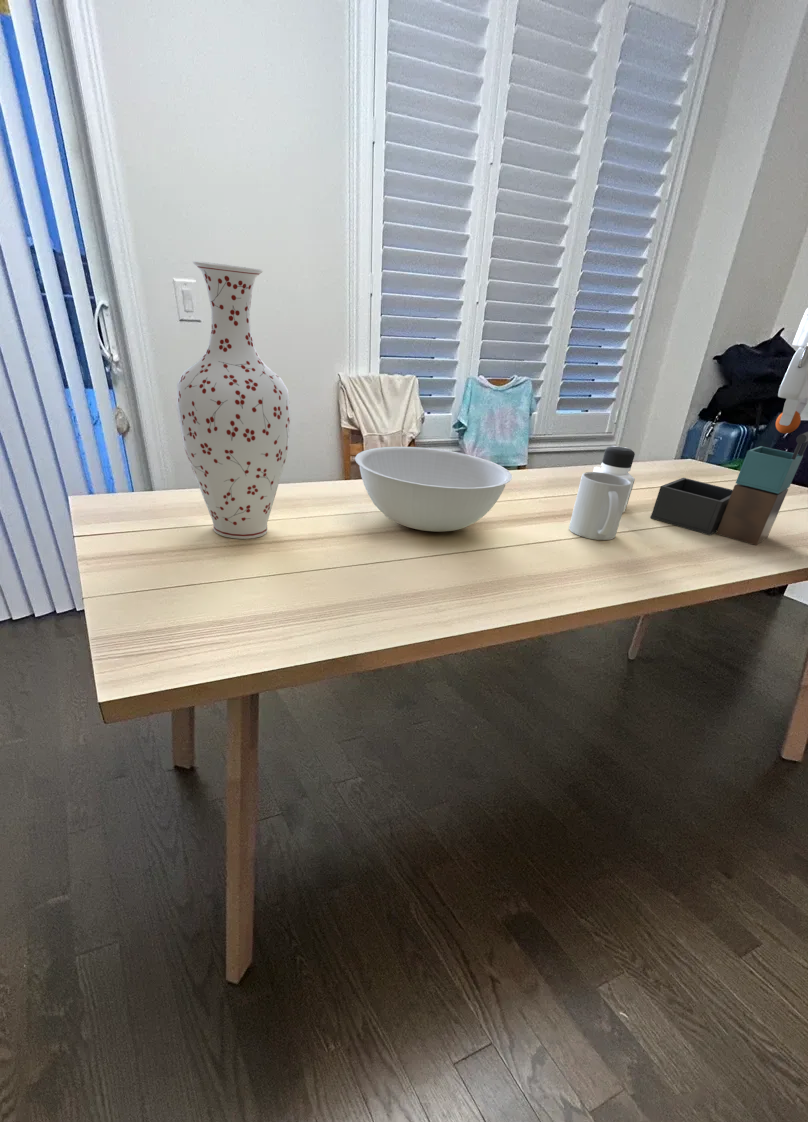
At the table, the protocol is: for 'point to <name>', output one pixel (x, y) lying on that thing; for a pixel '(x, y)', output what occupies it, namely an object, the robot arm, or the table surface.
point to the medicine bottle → (618, 464)
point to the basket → (691, 505)
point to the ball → (790, 427)
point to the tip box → (771, 467)
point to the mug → (599, 505)
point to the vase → (234, 412)
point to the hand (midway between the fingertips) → (787, 424)
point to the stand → (750, 514)
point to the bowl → (431, 486)
